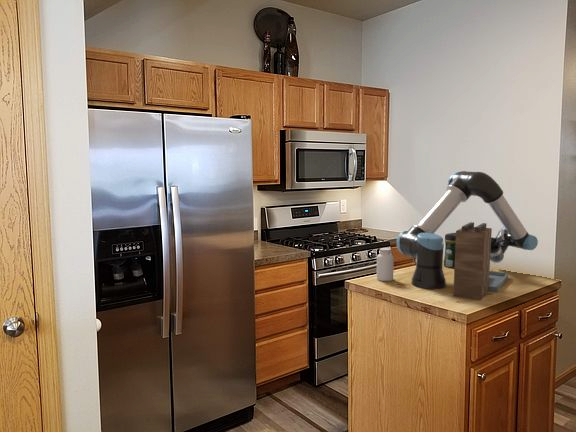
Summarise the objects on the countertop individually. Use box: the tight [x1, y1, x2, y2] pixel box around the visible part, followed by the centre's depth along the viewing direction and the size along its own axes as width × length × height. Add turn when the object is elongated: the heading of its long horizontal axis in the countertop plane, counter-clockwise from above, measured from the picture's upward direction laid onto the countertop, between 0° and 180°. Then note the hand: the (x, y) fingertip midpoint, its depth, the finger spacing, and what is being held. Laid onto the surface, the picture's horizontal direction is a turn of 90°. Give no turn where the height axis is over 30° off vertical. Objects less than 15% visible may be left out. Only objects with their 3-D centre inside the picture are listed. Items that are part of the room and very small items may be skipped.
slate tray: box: [488, 270, 509, 293], centre depth 217 cm, size 31×18×2 cm, turn 146°
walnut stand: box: [452, 221, 493, 301], centre depth 196 cm, size 16×11×30 cm
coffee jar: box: [443, 232, 456, 269], centre depth 248 cm, size 10×8×19 cm
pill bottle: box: [376, 247, 395, 282], centre depth 221 cm, size 8×8×15 cm
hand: (486, 230), depth 217 cm, fingers open, 13 cm apart
